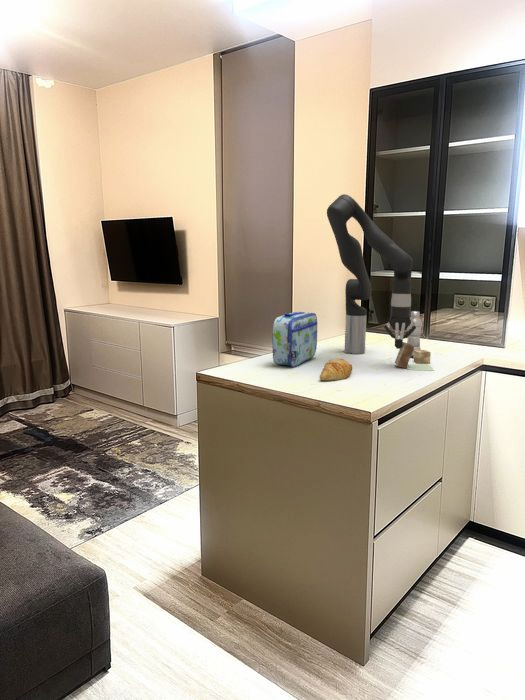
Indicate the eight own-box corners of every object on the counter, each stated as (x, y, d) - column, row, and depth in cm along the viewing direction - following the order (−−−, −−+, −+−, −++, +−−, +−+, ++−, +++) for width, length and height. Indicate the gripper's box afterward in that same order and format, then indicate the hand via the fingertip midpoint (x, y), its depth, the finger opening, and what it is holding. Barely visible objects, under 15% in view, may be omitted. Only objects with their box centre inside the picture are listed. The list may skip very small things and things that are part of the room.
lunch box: (292, 369, 203) (293, 316, 199) (268, 366, 208) (269, 314, 204) (319, 358, 225) (321, 310, 221) (297, 355, 231) (298, 308, 227)
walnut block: (396, 365, 206) (404, 344, 204) (394, 362, 212) (402, 341, 210) (405, 368, 206) (414, 347, 204) (404, 365, 212) (412, 344, 210)
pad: (407, 369, 204) (408, 369, 204) (404, 364, 214) (404, 363, 214) (434, 370, 203) (434, 370, 203) (429, 365, 212) (429, 364, 212)
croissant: (327, 393, 184) (337, 375, 180) (306, 376, 188) (315, 358, 184) (355, 380, 200) (365, 363, 196) (335, 365, 204) (344, 348, 201)
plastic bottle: (421, 356, 231) (424, 311, 227) (419, 358, 225) (421, 312, 221) (406, 354, 234) (409, 310, 230) (403, 357, 228) (406, 311, 224)
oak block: (418, 364, 215) (419, 352, 214) (413, 361, 220) (414, 350, 219) (429, 363, 215) (430, 352, 215) (424, 361, 220) (425, 349, 219)
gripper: (384, 305, 202) (382, 349, 205) (419, 306, 200) (416, 350, 203) (382, 303, 209) (380, 346, 212) (416, 304, 207) (414, 347, 210)
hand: (398, 348), depth 208 cm, fingers closed
